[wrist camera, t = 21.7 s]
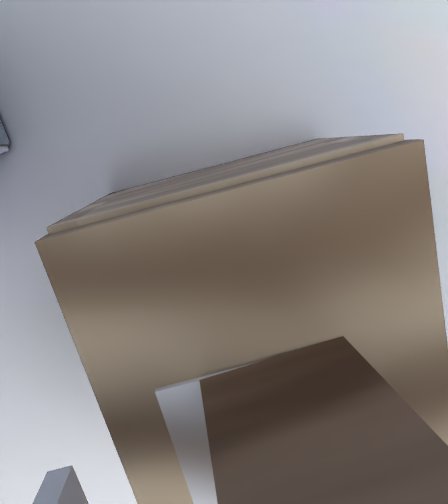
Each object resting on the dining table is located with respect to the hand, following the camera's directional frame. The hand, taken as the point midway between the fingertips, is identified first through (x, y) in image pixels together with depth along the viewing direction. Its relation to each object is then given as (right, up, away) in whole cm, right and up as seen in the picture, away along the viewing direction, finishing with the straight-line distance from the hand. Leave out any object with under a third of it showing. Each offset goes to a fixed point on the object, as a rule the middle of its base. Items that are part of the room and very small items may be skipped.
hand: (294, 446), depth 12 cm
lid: (0, 0, +3) cm, 3 cm away
